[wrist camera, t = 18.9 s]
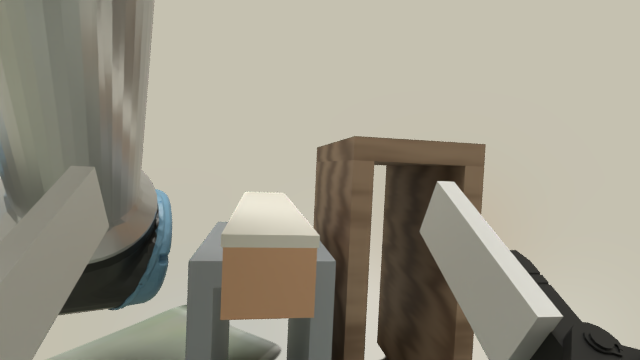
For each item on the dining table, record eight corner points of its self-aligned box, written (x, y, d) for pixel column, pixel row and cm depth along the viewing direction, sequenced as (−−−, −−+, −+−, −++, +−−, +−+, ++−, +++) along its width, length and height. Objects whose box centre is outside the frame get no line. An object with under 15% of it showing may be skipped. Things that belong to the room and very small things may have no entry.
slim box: (316, 317, 17) (319, 235, 17) (217, 320, 16) (221, 234, 16) (282, 225, 43) (284, 192, 43) (243, 225, 42) (245, 191, 42)
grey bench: (325, 484, 28) (335, 261, 28) (180, 499, 27) (188, 261, 26) (300, 361, 46) (306, 223, 45) (212, 365, 44) (218, 221, 44)
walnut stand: (466, 449, 33) (485, 144, 32) (338, 462, 31) (354, 136, 30) (388, 342, 52) (399, 152, 51) (308, 345, 50) (317, 147, 49)
